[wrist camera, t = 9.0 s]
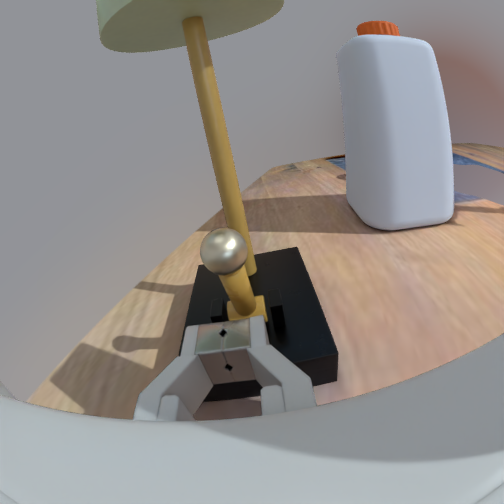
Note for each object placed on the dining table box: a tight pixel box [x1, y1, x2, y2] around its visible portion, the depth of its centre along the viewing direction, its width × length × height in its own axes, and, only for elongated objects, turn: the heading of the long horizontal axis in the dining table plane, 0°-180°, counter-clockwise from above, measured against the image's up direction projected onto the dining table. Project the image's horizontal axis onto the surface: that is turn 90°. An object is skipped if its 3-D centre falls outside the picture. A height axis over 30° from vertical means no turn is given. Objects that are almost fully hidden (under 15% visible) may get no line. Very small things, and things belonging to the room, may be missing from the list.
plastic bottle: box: [336, 21, 454, 230], centre depth 31 cm, size 15×15×28 cm
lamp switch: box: [200, 228, 268, 322], centre depth 15 cm, size 2×2×9 cm
